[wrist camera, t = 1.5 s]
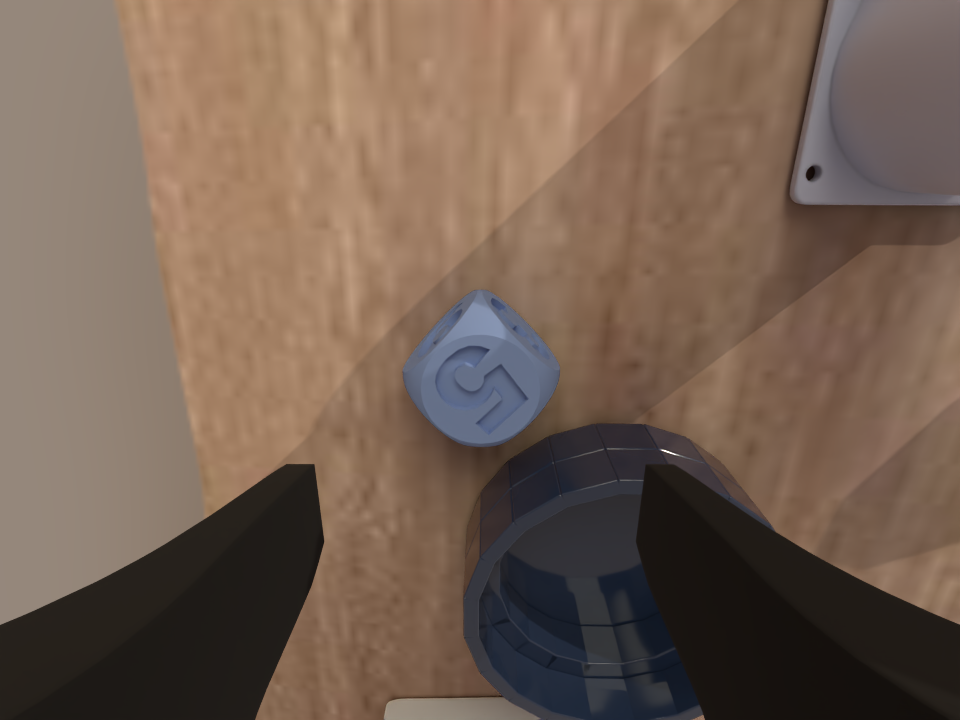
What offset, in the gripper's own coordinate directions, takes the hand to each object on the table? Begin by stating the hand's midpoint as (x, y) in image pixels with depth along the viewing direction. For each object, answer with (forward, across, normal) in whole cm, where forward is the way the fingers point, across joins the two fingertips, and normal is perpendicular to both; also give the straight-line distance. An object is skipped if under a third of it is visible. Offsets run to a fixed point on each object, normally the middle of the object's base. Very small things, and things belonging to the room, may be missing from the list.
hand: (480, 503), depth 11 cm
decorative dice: (+10, 0, 0) cm, 10 cm away
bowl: (+10, +6, -9) cm, 14 cm away
